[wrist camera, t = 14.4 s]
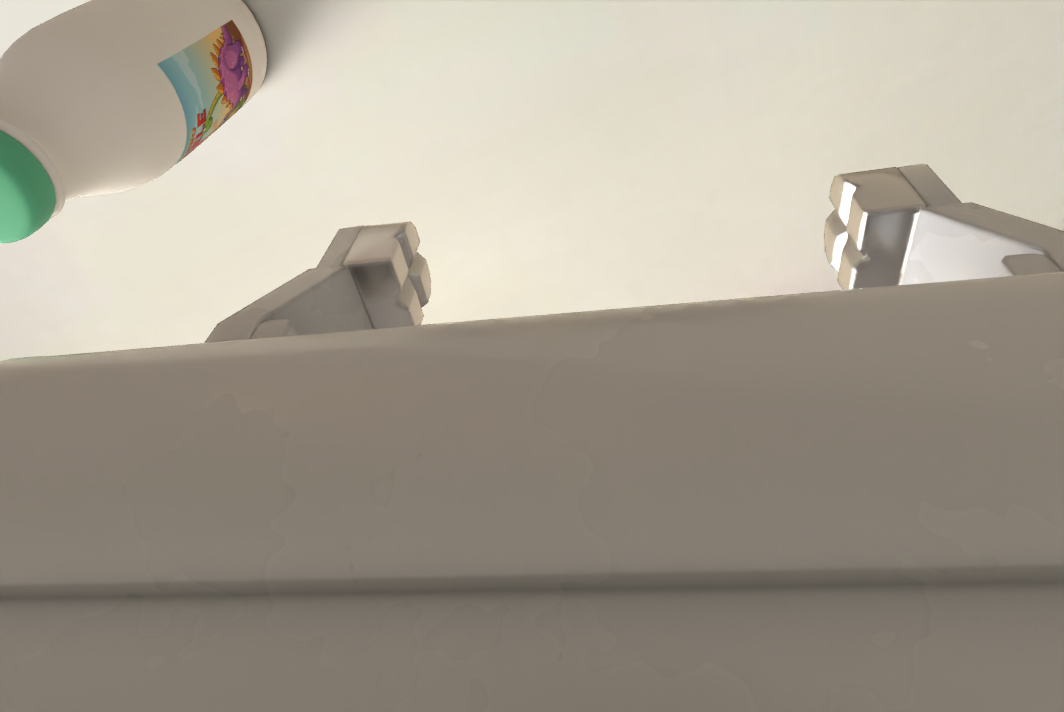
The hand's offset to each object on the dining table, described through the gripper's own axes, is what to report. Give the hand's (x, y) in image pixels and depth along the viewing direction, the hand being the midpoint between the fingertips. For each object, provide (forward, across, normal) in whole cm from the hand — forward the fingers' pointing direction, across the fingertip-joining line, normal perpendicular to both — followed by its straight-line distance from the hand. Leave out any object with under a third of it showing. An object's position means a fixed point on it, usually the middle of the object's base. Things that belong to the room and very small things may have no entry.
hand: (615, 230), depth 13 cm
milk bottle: (+29, +24, +1) cm, 38 cm away
